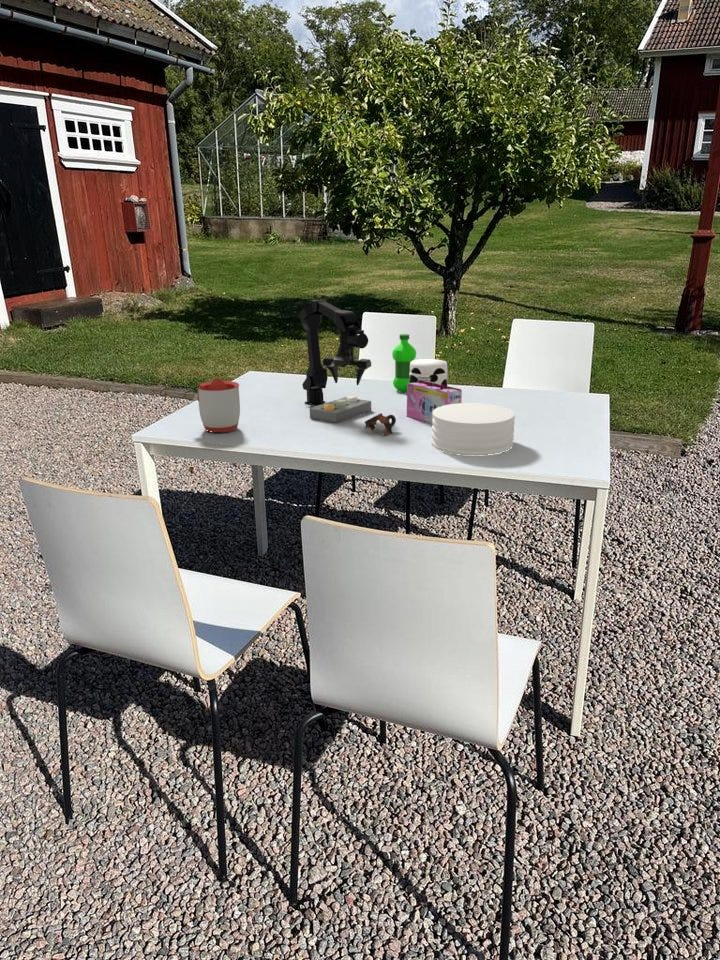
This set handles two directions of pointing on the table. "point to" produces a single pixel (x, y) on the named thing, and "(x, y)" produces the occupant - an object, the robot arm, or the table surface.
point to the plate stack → (472, 428)
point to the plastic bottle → (403, 363)
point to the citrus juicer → (219, 405)
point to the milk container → (429, 371)
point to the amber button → (329, 407)
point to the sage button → (341, 403)
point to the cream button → (352, 399)
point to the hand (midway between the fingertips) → (346, 384)
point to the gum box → (429, 398)
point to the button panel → (340, 411)
